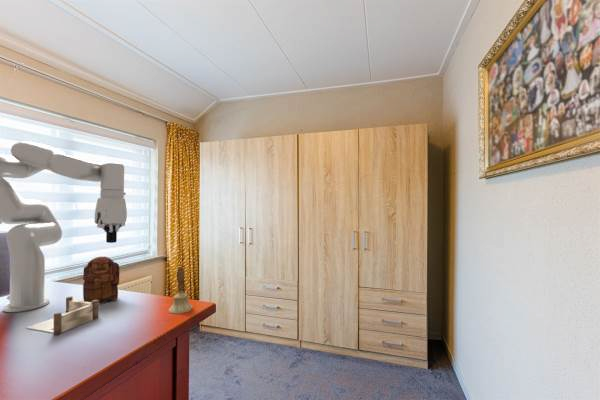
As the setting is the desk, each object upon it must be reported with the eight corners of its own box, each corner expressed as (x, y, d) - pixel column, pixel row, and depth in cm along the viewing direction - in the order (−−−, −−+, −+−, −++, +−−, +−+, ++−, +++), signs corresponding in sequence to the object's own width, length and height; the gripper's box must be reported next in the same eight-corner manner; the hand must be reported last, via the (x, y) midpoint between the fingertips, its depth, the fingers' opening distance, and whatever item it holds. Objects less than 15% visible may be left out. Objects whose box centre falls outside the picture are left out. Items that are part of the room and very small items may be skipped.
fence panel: (89, 318, 96) (89, 301, 96) (93, 319, 96) (93, 301, 96) (51, 334, 85) (52, 314, 85) (56, 335, 84) (56, 315, 84)
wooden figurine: (83, 307, 107) (83, 260, 107) (82, 302, 112) (83, 257, 112) (120, 300, 114) (120, 256, 115) (117, 296, 119) (118, 254, 119)
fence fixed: (64, 315, 100) (64, 298, 100) (70, 312, 102) (70, 296, 102) (94, 319, 96) (94, 302, 96) (99, 317, 98) (100, 300, 98)
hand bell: (181, 315, 100) (181, 270, 100) (163, 312, 103) (163, 268, 103) (197, 307, 108) (197, 265, 108) (180, 304, 111) (180, 263, 111)
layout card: (26, 328, 89) (26, 327, 89) (61, 316, 99) (61, 315, 99) (53, 333, 86) (53, 331, 86) (85, 320, 96) (85, 318, 96)
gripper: (122, 195, 116) (121, 239, 116) (85, 194, 102) (84, 244, 102) (136, 195, 114) (135, 240, 114) (100, 194, 100) (99, 245, 100)
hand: (111, 242), depth 108 cm, fingers closed
